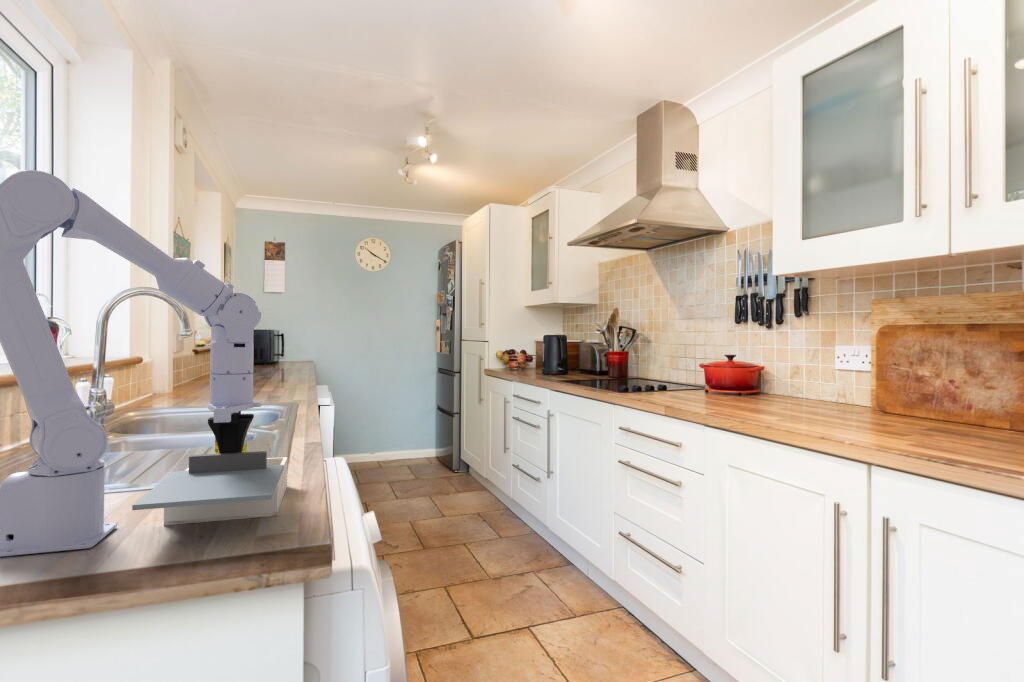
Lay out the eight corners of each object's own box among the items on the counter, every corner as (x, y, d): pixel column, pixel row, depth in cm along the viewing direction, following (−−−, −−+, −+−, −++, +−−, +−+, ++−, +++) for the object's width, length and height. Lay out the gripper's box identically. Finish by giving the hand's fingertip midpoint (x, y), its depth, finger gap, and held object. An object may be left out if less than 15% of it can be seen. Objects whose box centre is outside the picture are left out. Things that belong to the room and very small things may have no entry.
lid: (132, 510, 61) (132, 484, 61) (174, 475, 76) (174, 454, 76) (271, 499, 65) (271, 475, 65) (283, 468, 81) (283, 449, 81)
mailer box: (163, 525, 71) (164, 488, 71) (194, 492, 86) (194, 462, 86) (277, 515, 75) (277, 480, 75) (287, 486, 90) (287, 457, 90)
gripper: (254, 376, 73) (253, 473, 73) (267, 370, 87) (266, 452, 87) (196, 376, 71) (195, 477, 71) (219, 370, 85) (218, 455, 85)
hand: (231, 464), depth 79 cm, fingers closed
